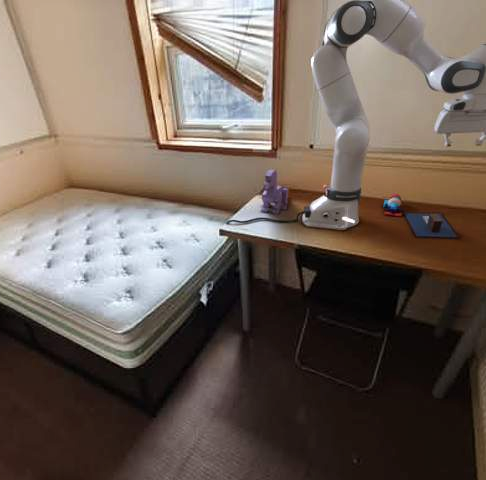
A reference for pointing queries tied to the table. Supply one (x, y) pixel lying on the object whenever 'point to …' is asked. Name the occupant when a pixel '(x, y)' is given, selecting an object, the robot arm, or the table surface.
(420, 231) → the desk mat
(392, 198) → the toy figure
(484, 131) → the robot arm
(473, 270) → the table surface
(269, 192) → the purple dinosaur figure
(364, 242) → the table surface
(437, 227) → the letter opener
